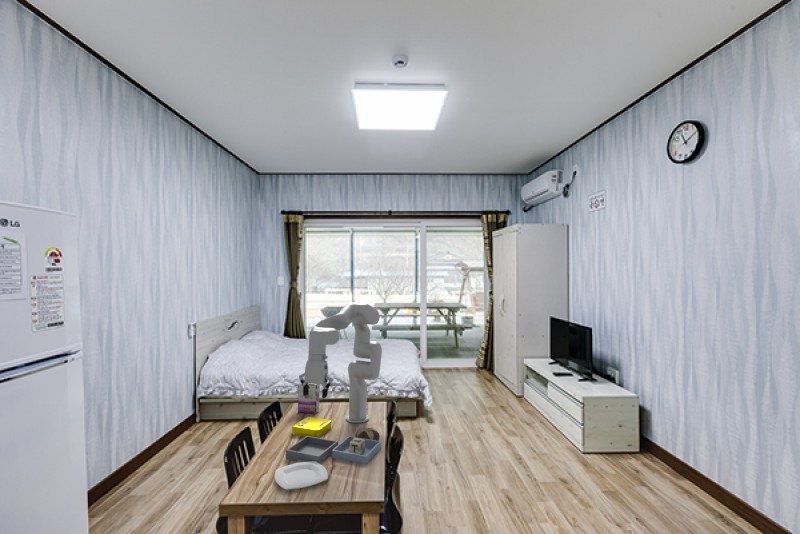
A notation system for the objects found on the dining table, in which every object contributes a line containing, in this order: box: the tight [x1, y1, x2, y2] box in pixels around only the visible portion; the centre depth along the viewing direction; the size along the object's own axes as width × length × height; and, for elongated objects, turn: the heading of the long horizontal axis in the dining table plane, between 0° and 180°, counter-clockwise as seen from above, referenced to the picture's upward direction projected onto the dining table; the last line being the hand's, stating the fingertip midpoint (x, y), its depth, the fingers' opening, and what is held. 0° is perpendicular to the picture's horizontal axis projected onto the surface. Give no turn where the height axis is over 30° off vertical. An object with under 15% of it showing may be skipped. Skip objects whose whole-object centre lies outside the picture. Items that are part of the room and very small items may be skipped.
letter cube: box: [349, 438, 365, 455], centre depth 168 cm, size 5×5×5 cm
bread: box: [354, 427, 380, 441], centre depth 184 cm, size 11×11×5 cm
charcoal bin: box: [285, 436, 339, 464], centre depth 168 cm, size 16×16×4 cm
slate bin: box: [331, 435, 382, 465], centre depth 168 cm, size 16×16×4 cm
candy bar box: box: [297, 382, 320, 415], centre depth 221 cm, size 11×5×16 cm, turn 80°
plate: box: [274, 461, 329, 491], centre depth 147 cm, size 19×19×2 cm
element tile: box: [291, 416, 332, 438], centre depth 193 cm, size 15×15×5 cm
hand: (315, 396), depth 172 cm, fingers open, 9 cm apart
